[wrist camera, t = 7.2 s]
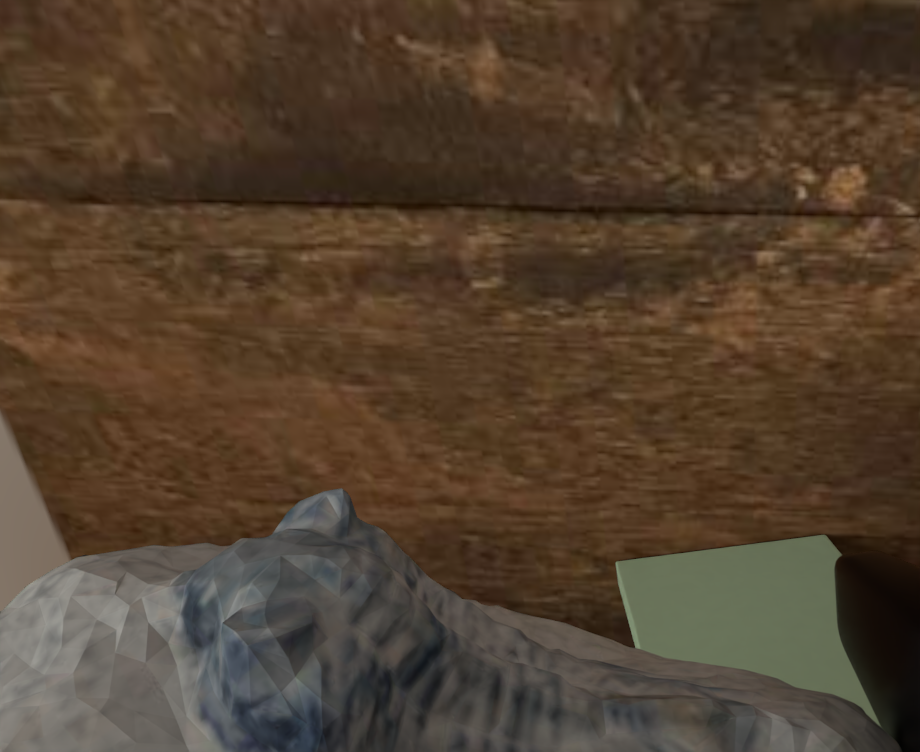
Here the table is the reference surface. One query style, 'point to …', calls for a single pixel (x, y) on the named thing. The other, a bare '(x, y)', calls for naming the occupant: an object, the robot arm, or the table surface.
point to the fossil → (357, 662)
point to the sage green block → (745, 612)
